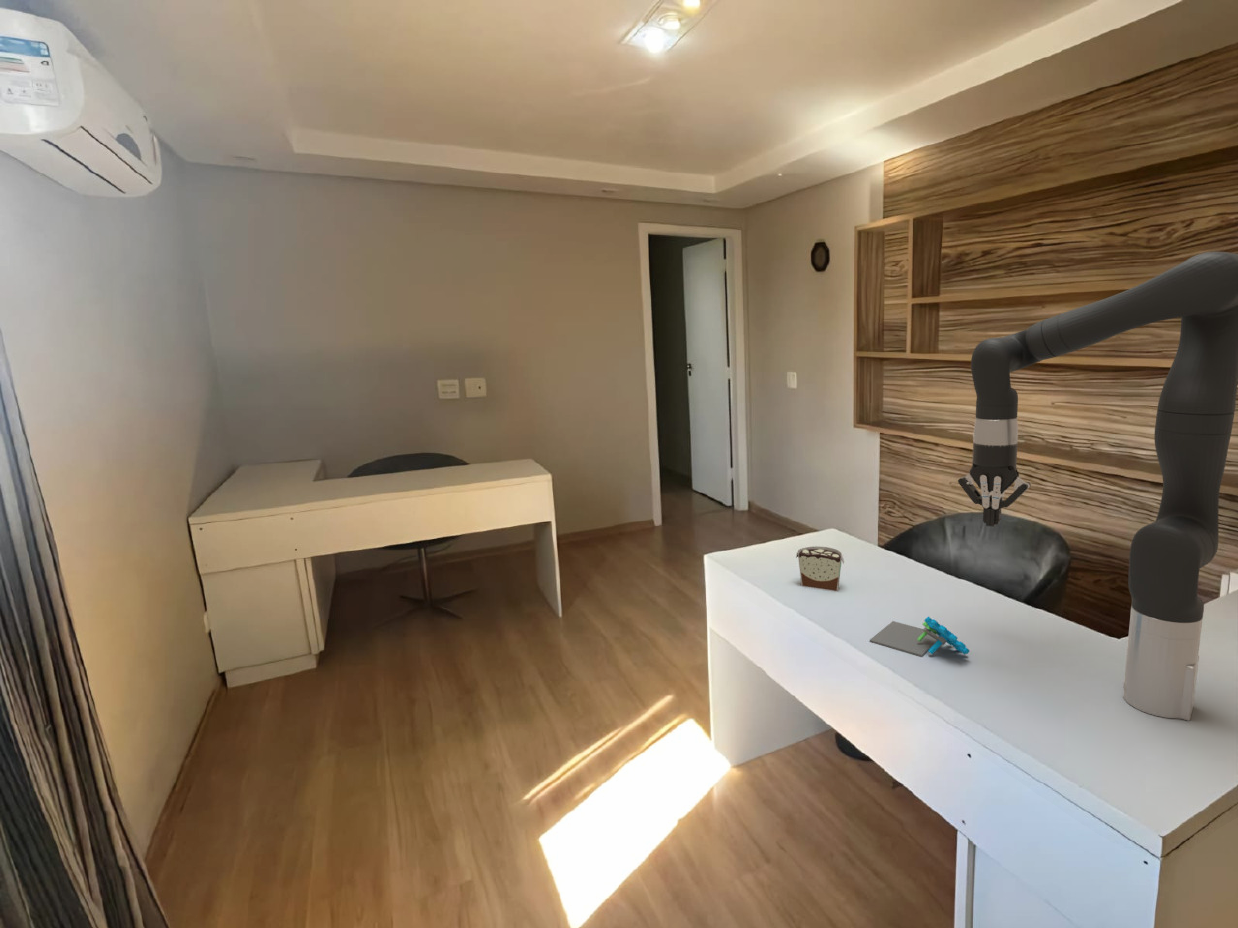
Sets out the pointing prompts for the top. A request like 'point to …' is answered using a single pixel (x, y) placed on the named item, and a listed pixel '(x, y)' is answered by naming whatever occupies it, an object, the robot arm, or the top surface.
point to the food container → (820, 567)
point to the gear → (941, 636)
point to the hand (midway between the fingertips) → (991, 525)
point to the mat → (904, 638)
